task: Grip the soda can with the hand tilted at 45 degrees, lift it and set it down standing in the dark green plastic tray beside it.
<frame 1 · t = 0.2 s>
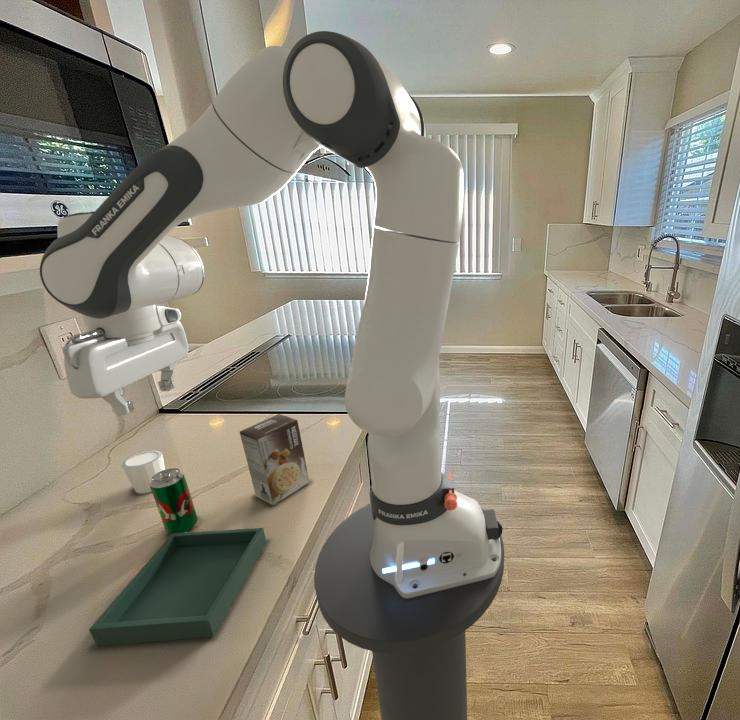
hand: (148, 400, 67), 27 cm above the worktop, tool pointing down, fingers open, 8 cm apart
white cup: (151, 486, 88), on the worktop
soda can: (182, 527, 76), on the worktop
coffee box: (283, 490, 87), on the worktop
tray: (193, 586, 64), on the worktop
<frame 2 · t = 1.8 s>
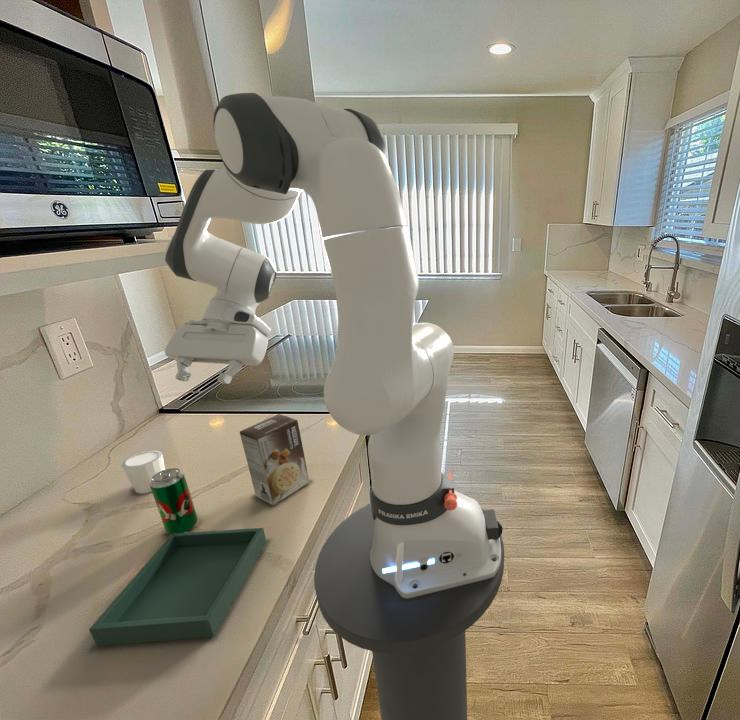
hand: (202, 381, 79), 25 cm above the worktop, tool tilted 45°, fingers open, 8 cm apart
nothing on the worktop moved.
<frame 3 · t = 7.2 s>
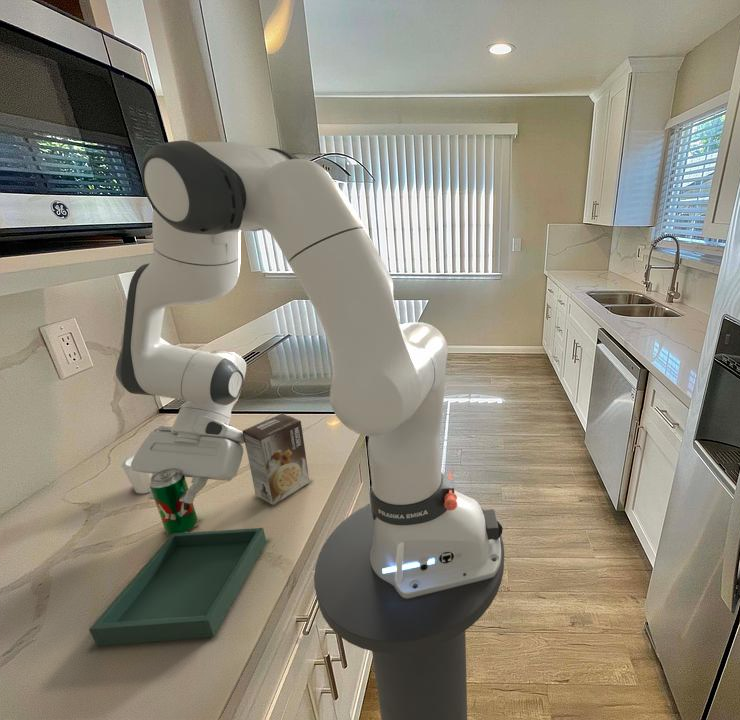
hand: (170, 501, 73), 7 cm above the worktop, tool tilted 45°, fingers closed on soda can, 5 cm apart
soda can: (182, 528, 76), on the worktop, touching gripper
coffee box: (283, 489, 87), on the worktop, touching arm
everything else where it was.
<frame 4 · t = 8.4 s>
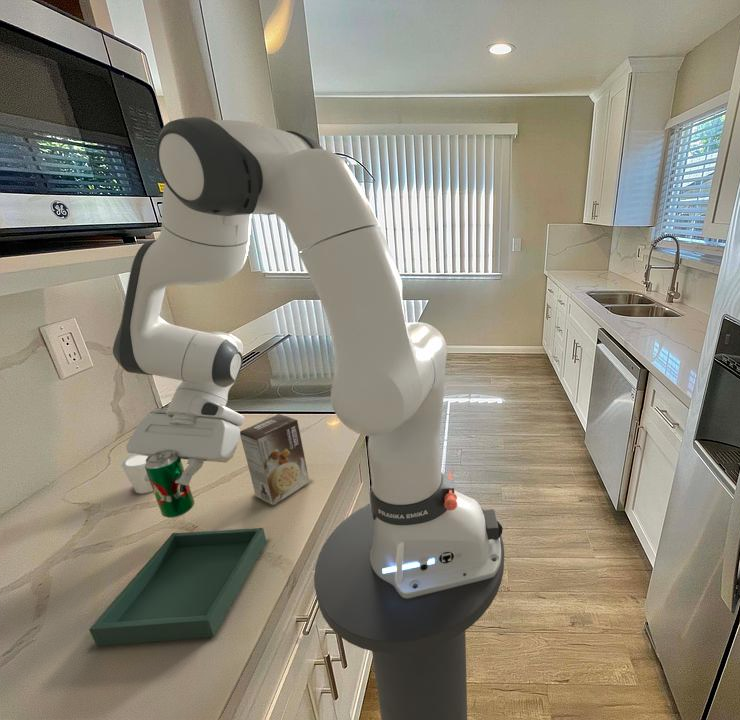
hand: (166, 483, 72), 11 cm above the worktop, tool tilted 45°, fingers closed on soda can, 5 cm apart
soda can: (179, 510, 75), point 4 cm above the worktop, touching gripper
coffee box: (283, 490, 87), on the worktop
everything else where it was.
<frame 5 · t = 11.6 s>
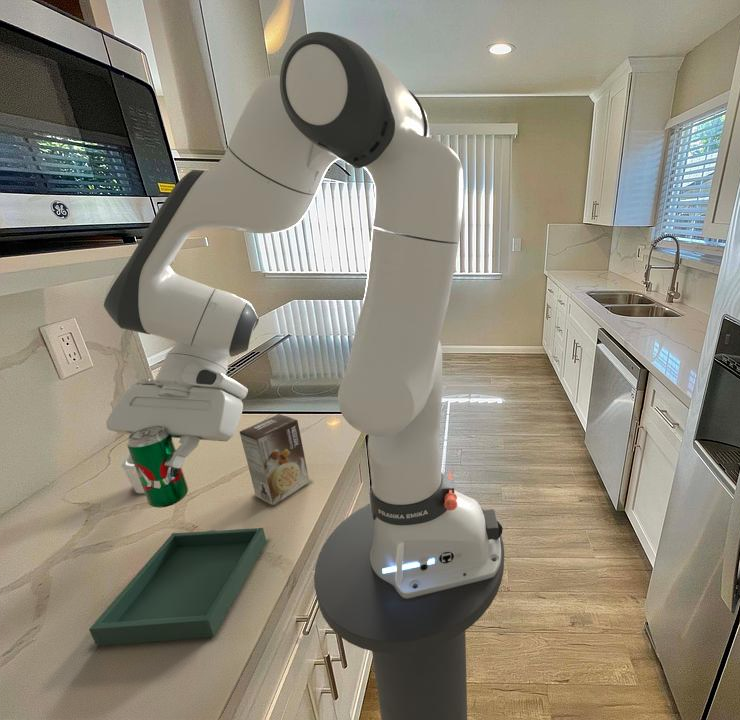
hand: (153, 465, 59), 21 cm above the worktop, tool tilted 45°, fingers closed on soda can, 5 cm apart
soda can: (170, 499, 62), point 14 cm above the worktop, touching gripper
everything else where it was.
when the fingers open (7 cm above the worktop, at t = 16.5 s): soda can stays where it is, resting on tray.
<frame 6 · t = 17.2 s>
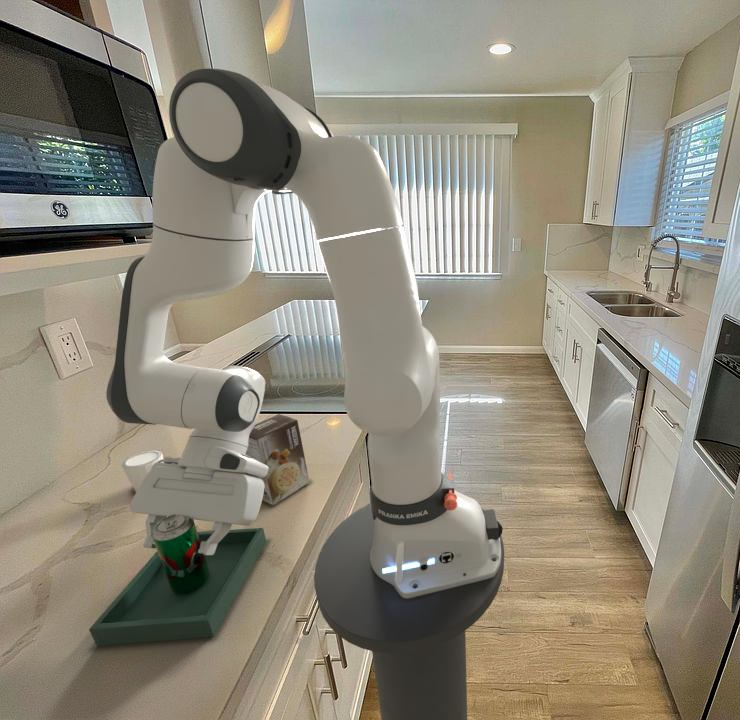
hand: (178, 551, 60), 8 cm above the worktop, tool tilted 45°, fingers open, 8 cm apart
soda can: (191, 583, 64), point 1 cm above the worktop, touching tray
everything else where it was.
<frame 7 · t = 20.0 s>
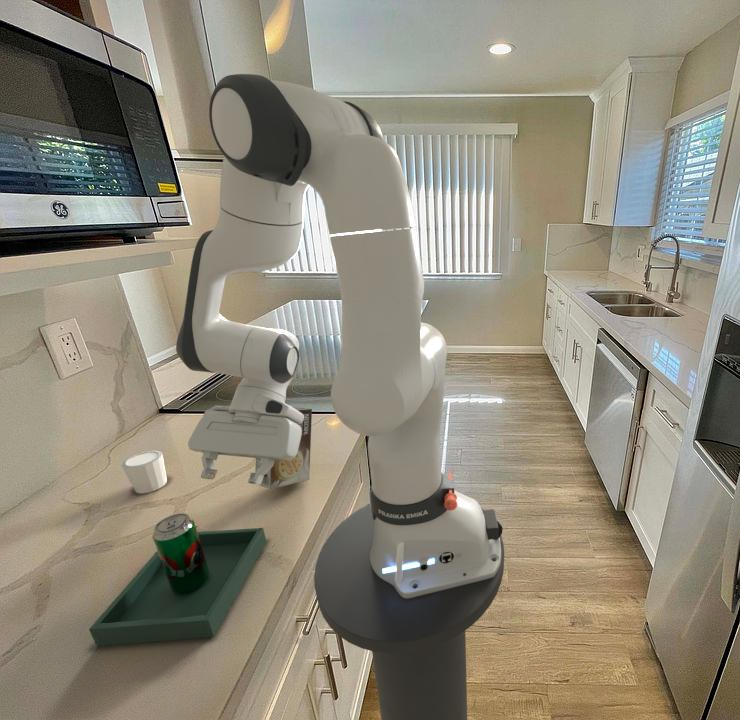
hand: (230, 481, 71), 11 cm above the worktop, tool tilted 45°, fingers open, 8 cm apart
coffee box: (282, 482, 86), point 2 cm above the worktop, touching arm
everything else where it was.
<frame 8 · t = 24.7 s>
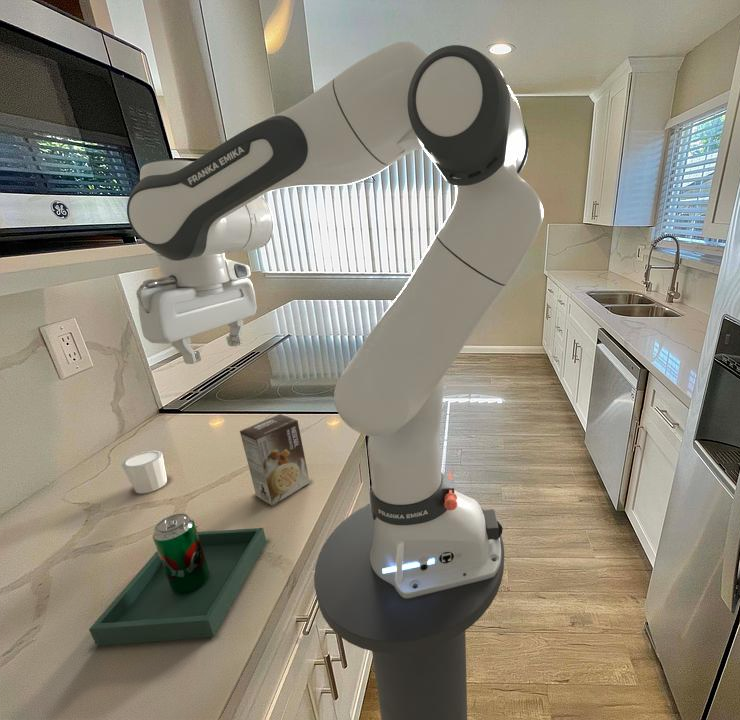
hand: (215, 353, 68), 34 cm above the worktop, tool pointing down, fingers open, 8 cm apart
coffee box: (283, 490, 87), on the worktop
everything else where it was.
at the end: soda can inside the target area in the tray (0.1 cm from its centre), point 0.6 cm above the tray's base; soda can tilted 0°; the gripper is holding nothing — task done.
